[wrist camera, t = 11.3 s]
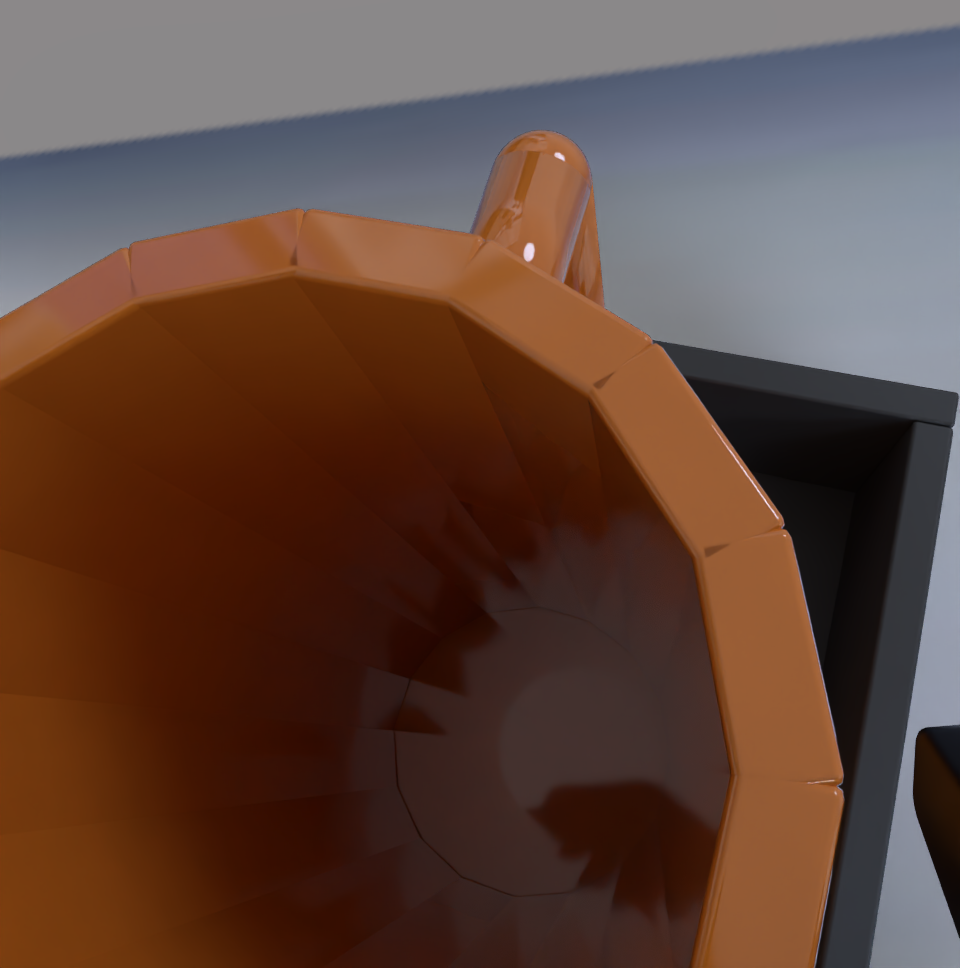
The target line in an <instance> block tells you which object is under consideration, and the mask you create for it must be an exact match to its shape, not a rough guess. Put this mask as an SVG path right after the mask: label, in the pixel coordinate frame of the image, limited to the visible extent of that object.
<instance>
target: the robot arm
mask: <svg viewBox="0 0 960 968" xmlns="http://www.w3.org/2000/svg"><path fill="white" fill-rule="evenodd" d="M913 800H914V806H915V811H916V815H917V818H918V821H919V824H920V827H921V830H922V833H923V836H924V839H925V841H926V844H927V847H928V850H929V853H930V856H931V859H932V861H933V864H934V867H935V870H936V873H937V876H938V878H939V881H940V884H941V887H942V890H943V893H944V896H945V898H946V901H947V904H948V907H949V910H950V913H951V915H952V918H953V921H954V924H955V927H956V930H957V933H958V935H959V938H960V725H952V726H939V727H927V728H924V729H921V730H920V731H919V733H918V735H917V738H916V745H915V763H914V780H913Z"/></svg>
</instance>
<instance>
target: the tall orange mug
mask: <svg viewBox="0 0 960 968" xmlns="http://www.w3.org/2000/svg"><path fill="white" fill-rule="evenodd" d="M784 526H785V523H784V519H783V516H782V514H781V513H780V512H779V510H778V509H777V507H776V506H775V505H774V503H773V502H772V500H771V499H770V498H769V496H768V495H767V493H766V492H765V491H764V489H763V488H762V486H761V485H760V484H759V482H758V481H757V479H756V478H755V476H754V475H753V474H752V472H751V471H750V469H749V468H748V467H747V465H746V464H745V462H744V461H743V460H742V458H741V457H740V455H739V454H738V453H737V451H736V450H735V448H734V447H733V446H732V444H731V443H730V441H729V440H728V439H727V437H726V436H725V434H724V433H723V431H722V430H721V429H720V427H719V426H718V424H717V423H716V422H715V420H714V419H713V417H712V416H711V415H710V413H709V412H708V410H707V409H706V408H705V406H704V405H703V403H702V402H701V401H700V399H699V398H698V396H697V395H696V394H695V392H694V391H693V389H692V388H691V387H690V385H689V384H688V382H687V381H686V379H685V378H684V377H683V375H682V374H681V372H680V371H679V370H678V368H677V367H676V365H675V364H674V363H673V361H672V360H671V358H670V357H669V356H668V354H667V353H666V351H665V350H664V349H663V348H662V347H661V346H660V345H658V344H657V343H655V344H653V341H652V339H651V338H650V337H649V335H647V334H646V333H644V332H643V331H641V330H639V329H638V328H636V327H634V326H633V325H631V324H629V323H628V322H626V321H625V320H623V319H621V318H620V317H618V316H616V315H615V314H613V313H611V312H610V311H608V310H606V309H605V306H604V296H603V285H602V275H601V265H600V254H599V244H598V234H597V224H596V213H595V203H594V193H593V182H592V174H591V170H590V166H589V163H588V160H587V159H586V157H585V155H584V153H583V152H582V150H581V149H580V148H579V146H578V145H577V144H576V143H575V142H573V141H572V140H570V139H569V138H567V137H566V136H564V135H562V134H560V133H558V132H554V131H549V130H534V131H530V132H527V133H524V134H521V135H519V136H517V137H515V138H514V139H513V140H511V141H510V142H509V143H508V144H507V145H506V146H504V147H503V149H502V150H501V151H500V153H499V154H498V156H497V158H496V159H495V162H494V164H493V166H492V168H491V171H490V174H489V177H488V180H487V183H486V186H485V189H484V192H483V195H482V198H481V201H480V203H479V206H478V209H477V212H476V215H475V218H474V221H473V224H472V227H471V230H470V233H464V232H458V231H451V230H445V229H438V228H432V227H426V226H419V225H413V224H406V223H400V222H394V221H387V220H381V219H374V218H368V217H362V216H355V215H349V214H342V213H336V212H330V211H323V210H317V209H309V210H307V211H306V212H305V211H304V210H303V209H298V208H296V209H291V210H287V211H282V212H277V213H272V214H267V215H262V216H258V217H253V218H248V219H243V220H238V221H234V222H229V223H224V224H219V225H214V226H209V227H205V228H200V229H195V230H190V231H185V232H181V233H176V234H171V235H166V236H161V237H156V238H152V239H147V240H142V241H137V242H134V243H132V244H131V245H130V247H129V249H128V248H121V249H119V250H117V251H115V252H113V253H112V254H110V255H108V256H107V257H105V258H103V259H101V260H100V261H98V262H96V263H94V264H93V265H91V266H89V267H88V268H86V269H84V270H82V271H81V272H79V273H77V274H76V275H74V276H72V277H70V278H69V279H67V280H65V281H63V282H62V283H60V284H58V285H57V286H55V287H53V288H51V289H50V290H48V291H46V292H44V293H43V294H41V295H39V296H38V297H36V298H34V299H32V300H31V301H29V302H27V303H26V304H24V305H22V306H20V307H19V308H17V309H15V310H13V311H12V312H10V313H8V314H7V315H5V316H3V317H1V318H0V968H815V965H816V960H817V954H818V948H819V943H820V937H821V932H822V926H823V921H824V915H825V910H826V904H827V898H828V893H829V887H830V882H831V876H832V871H833V865H834V860H835V854H836V848H837V843H838V837H839V832H840V826H841V821H842V815H843V810H844V804H845V799H844V795H843V790H842V789H840V788H839V787H838V786H839V785H841V784H842V783H843V777H844V769H843V765H842V760H841V756H840V751H839V747H838V742H837V738H836V733H835V729H834V724H833V720H832V715H831V711H830V706H829V702H828V697H827V692H826V688H825V683H824V679H823V674H822V670H821V665H820V661H819V656H818V652H817V647H816V643H815V638H814V634H813V629H812V625H811V620H810V616H809V611H808V607H807V602H806V598H805V593H804V589H803V584H802V580H801V575H800V571H799V566H798V562H797V557H796V553H795V548H794V544H793V539H792V537H791V536H790V534H789V533H788V531H787V530H784V529H783V527H784Z"/></svg>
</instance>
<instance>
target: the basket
mask: <svg viewBox="0 0 960 968" xmlns="http://www.w3.org/2000/svg"><path fill="white" fill-rule="evenodd" d="M652 341H653V344H655V343H657V344H658V345H660V346H661V347H662V348H663V349H664V350H665V351H666V353H667V354H668V356H669V357H670V358H671V360H672V361H673V363H674V364H675V365H676V367H677V368H678V370H679V371H680V372H681V374H682V375H683V377H684V378H685V379H686V381H687V382H688V384H689V385H690V387H691V388H692V389H693V391H694V392H695V394H696V395H697V396H698V398H699V399H700V401H701V402H702V403H703V405H704V406H705V408H706V409H707V410H708V412H709V413H710V415H711V416H712V417H713V419H714V420H715V422H716V423H717V424H718V426H719V427H720V429H721V430H722V431H723V433H724V434H725V436H726V437H727V439H728V440H729V441H730V443H731V444H732V446H733V447H734V448H735V450H736V451H737V453H738V454H739V455H740V457H741V458H742V460H743V461H744V462H745V464H746V465H747V467H748V468H749V469H750V471H751V472H752V474H753V475H754V476H755V478H756V479H757V481H758V482H759V484H760V485H761V486H762V488H763V489H764V491H765V492H766V493H767V495H768V496H769V498H770V499H771V500H772V502H773V503H774V505H775V506H776V507H777V509H778V510H779V512H780V513H781V514H782V516H783V519H784V523H785V526H784V527H783V529H784V530H787V531H788V533H789V534H790V536H791V537H792V539H793V544H794V548H795V553H796V557H797V562H798V566H799V571H800V575H801V580H802V584H803V589H804V593H805V598H806V602H807V607H808V611H809V616H810V620H811V625H812V629H813V634H814V638H815V643H816V647H817V652H818V656H819V661H820V665H821V670H822V674H823V679H824V683H825V688H826V692H827V697H828V702H829V706H830V711H831V715H832V720H833V724H834V729H835V733H836V738H837V742H838V747H839V751H840V756H841V760H842V765H843V769H844V777H843V783H842V784H841V785H839V786H838V787H839V788H840V789H842V790H843V795H844V799H845V804H844V810H843V815H842V821H841V826H840V832H839V837H838V843H837V848H836V854H835V860H834V865H833V871H832V876H831V882H830V887H829V893H828V898H827V904H826V910H825V915H824V921H823V926H822V932H821V937H820V943H819V948H818V954H817V960H816V965H815V968H869V965H870V959H871V953H872V946H873V940H874V933H875V927H876V921H877V914H878V908H879V902H880V895H881V889H882V882H883V876H884V870H885V863H886V857H887V851H888V844H889V838H890V831H891V825H892V819H893V812H894V806H895V800H896V793H897V787H898V780H899V774H900V768H901V761H902V755H903V749H904V742H905V736H906V729H907V723H908V717H909V710H910V704H911V698H912V691H913V685H914V678H915V672H916V666H917V659H918V653H919V647H920V640H921V634H922V627H923V621H924V615H925V608H926V602H927V596H928V589H929V583H930V576H931V570H932V564H933V557H934V551H935V545H936V538H937V532H938V525H939V519H940V513H941V506H942V500H943V494H944V487H945V481H946V474H947V468H948V462H949V455H950V449H951V443H952V436H953V430H952V429H951V428H952V427H953V426H954V424H955V418H956V412H957V405H958V399H959V396H958V394H957V393H955V392H949V391H943V390H938V389H932V388H926V387H920V386H914V385H909V384H903V383H897V382H891V381H886V380H880V379H874V378H868V377H863V376H857V375H851V374H845V373H839V372H834V371H828V370H822V369H816V368H811V367H805V366H799V365H793V364H787V363H782V362H776V361H770V360H764V359H759V358H753V357H747V356H741V355H736V354H730V353H724V352H718V351H712V350H707V349H701V348H695V347H689V346H684V345H678V344H672V343H666V342H661V341H655V340H652Z"/></svg>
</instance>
